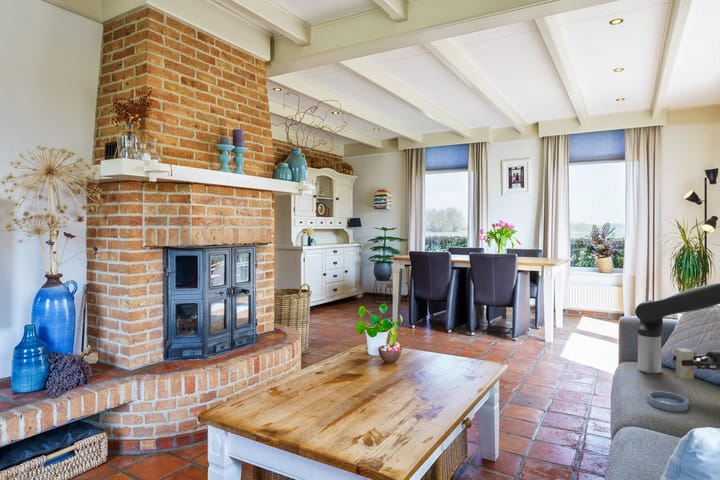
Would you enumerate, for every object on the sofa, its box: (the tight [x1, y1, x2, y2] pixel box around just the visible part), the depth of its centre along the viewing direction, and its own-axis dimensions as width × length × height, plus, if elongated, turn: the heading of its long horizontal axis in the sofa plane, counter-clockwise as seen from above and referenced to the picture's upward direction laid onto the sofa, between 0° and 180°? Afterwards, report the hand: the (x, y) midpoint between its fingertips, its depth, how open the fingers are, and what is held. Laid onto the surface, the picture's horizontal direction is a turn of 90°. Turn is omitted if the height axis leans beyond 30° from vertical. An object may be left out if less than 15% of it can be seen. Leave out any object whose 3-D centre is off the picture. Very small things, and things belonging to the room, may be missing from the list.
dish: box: [646, 390, 689, 412], centre depth 170 cm, size 13×13×2 cm
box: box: [675, 347, 695, 379], centre depth 176 cm, size 5×4×11 cm
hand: (677, 360), depth 176 cm, fingers closed on box, 5 cm apart
